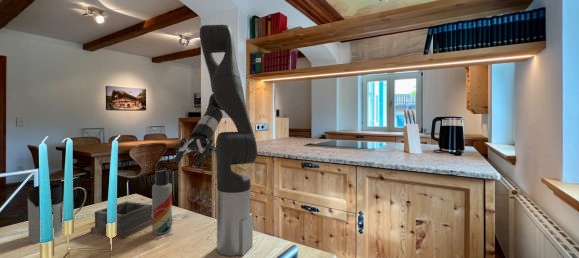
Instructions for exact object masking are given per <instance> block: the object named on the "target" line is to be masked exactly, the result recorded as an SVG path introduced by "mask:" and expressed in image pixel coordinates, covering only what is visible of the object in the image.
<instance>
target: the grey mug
mask: <svg viewBox="0 0 579 258" xmlns="http://www.w3.org/2000/svg"><path fill="white" fill-rule="evenodd" d="M50 185H51V199H52V212H53V228H54V237H57V238H58V236H59V237H61V236H63V235H62V218H63V219H64V203H63V202H64V201H63V193H62V192H63V191H62V190H63V188H62V187H63V186H62V184H59V183H51V184H50ZM39 186H40V185H36V186H31V187H29V188H28V190H27V193H28V194H27V195H28V196H27V218H28V219H27V221H28V222H27V223H28V236H27V238H26V242H29V243H41V242H40V218H39ZM72 189H73V191H75V190H77V189H80V190H83V192H84V200H83V202H82V204H81V205H80V207H79V208H78V209H77V211H76V212H74V213H73V214H74V216H75V215H76V214H77V213H79V212H81V210H82V209H83V207H84V205H85V203H86V199H87V190H86V189H85V187H84V188H83V187H80V186H78V187H77V186H76V187H74V188H72ZM62 212H63V214H62ZM60 235H61V236H60Z"/></svg>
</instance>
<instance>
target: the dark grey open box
mask: <svg viewBox="0 0 579 258" xmlns="http://www.w3.org/2000/svg"><path fill="white" fill-rule="evenodd" d="M116 205H117V235H116V236H115V237H113V238H114V239H119V240H120V239H121V240H123V239H126V238H127V237H130V236H131V235H134V234H136V233H138V232H140V231H143V230H145V229H146V228H148V227H150V226H152V204H148V203H141V202H135V201H129V200H127V201H123V202H120V203H117V204H116ZM107 208H108V207H105V208H103V209H100V210H99V209H98V210H96V211H94V226H92V227H90V233H91V234H94V233H97V234H96V235H99V234H101V235H100V236H105V235H106V224H107ZM105 237H106V236H105Z"/></svg>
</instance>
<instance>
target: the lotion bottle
mask: <svg viewBox="0 0 579 258" xmlns="http://www.w3.org/2000/svg"><path fill="white" fill-rule="evenodd" d="M169 174H170V173H169V170H168V169H162V170H158V171H155V174H154V175H155V177H154V180H155V184H153V185H152V187H151V188H152V189H151V199H152V200H151V203H152V204H151V205H152V225H151V226H152V233H153V235H157V236H158V235H166V234H168V233H170V232H171V231H173V230H172V229H173V185H172V183H170V182H169V176H170V175H169Z"/></svg>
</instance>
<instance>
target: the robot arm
mask: <svg viewBox="0 0 579 258" xmlns="http://www.w3.org/2000/svg"><path fill="white" fill-rule="evenodd" d="M199 28H200V29H199V40H200V45H201V46H200V47H201V50H202V53H203V54H202V55H203V58H204V61H205V62H204V63H205V65H206V68H207V71H208V74H209V75H208V76H209V78H210V79H209V81H210V87H211V93H212V94H211V95H210V96H209V100H208V104H207V109H206V111H205V112H204V113H203V115H202V117H200V119H199V121H198V122H197V124H196V125H195V127H194V129H192V132H191V136H190V138H189V139H186V138H185V137H182V139H181V140H180V141H179V143H178V144H177V146H176V147H175V148H174V150H175V151H176V155H175V157H174V162H175V163H177V164H180V162H181V160H182V159H183V157H184V155H185V154H187V153H190V152H194V151H197V152H199V153H197V155H196V157H195V159H194V164H195V165H196V166H199V165H200V164H201V162H203V159H204V158H205V157H206V156H208V157H209V156H211V155H212V153H213V150H214V148H215V157H216V161H215V162H216V186H217V187H216V192H217V193H216V251H217V252H218V254H220V255H222V256H228V257H233V256H244V255H245V254H246V253H247V251H249V249H251V248H252V246H253V240H254V239H253V237H254V234H253V231H254V230H253V227H254V224H253V223H254V214H253V213H251V186H252V185H251V184H252V183H251V178H249V177H248V176H246V175H243V174H240V173H236V172H235V171H233V170H232V167H231V166H232V165H233V166H236V165H246V164H247V165H248V164H253V163H254V162H255V161H256V160H257V157H258V156H257V155H258V146H257V140H256V137H255V132H254V130H253V126H252V123H251V120H250V117H249V114H248V109H247V104H246V100H245V93H244V89H243V88H244V87H243V82H242V77H241V74H240V70H239V66H238V62H237V56H236V48H235V42H234V36H233V35H234V34H233V32H232V29H231V27H230V25H228V24H205V25H201V26H200V27H199ZM216 53H217V54H220V53H221V54H222V53H224V55H223V57H222V60H221V61H220V63H218V61H217V60H216V58H215V57H214V55H213V54H216ZM223 112H224V113H225V114H226V115H227V116H228V118H230V119H231V120H232V122H233V124H234V126H235V128H236V131H223V132H222V131H221V132H219V133H218V135H217V137H216V140H215V142H214V140H213V136H214V135H215V134H216V132H217V130H218V127H219V125H220V123H221V121H222V119H223V115H224V114H223Z"/></svg>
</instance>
